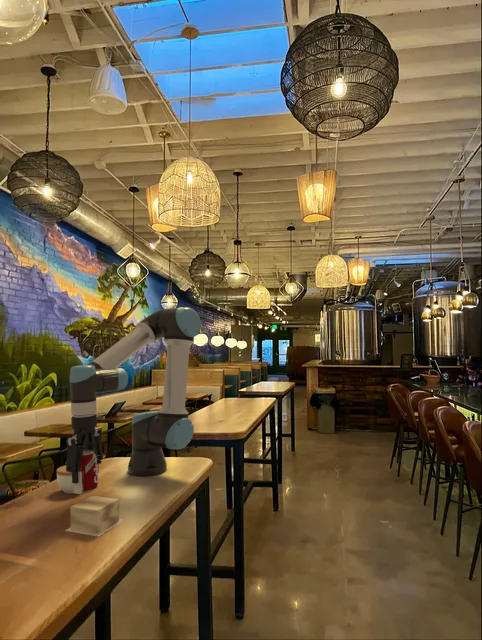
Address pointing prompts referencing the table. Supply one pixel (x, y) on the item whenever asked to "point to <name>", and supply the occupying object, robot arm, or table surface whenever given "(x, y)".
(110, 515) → the beech block
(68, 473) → the lidded jar
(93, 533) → the grey square plate
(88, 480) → the soda can
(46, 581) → the table surface
